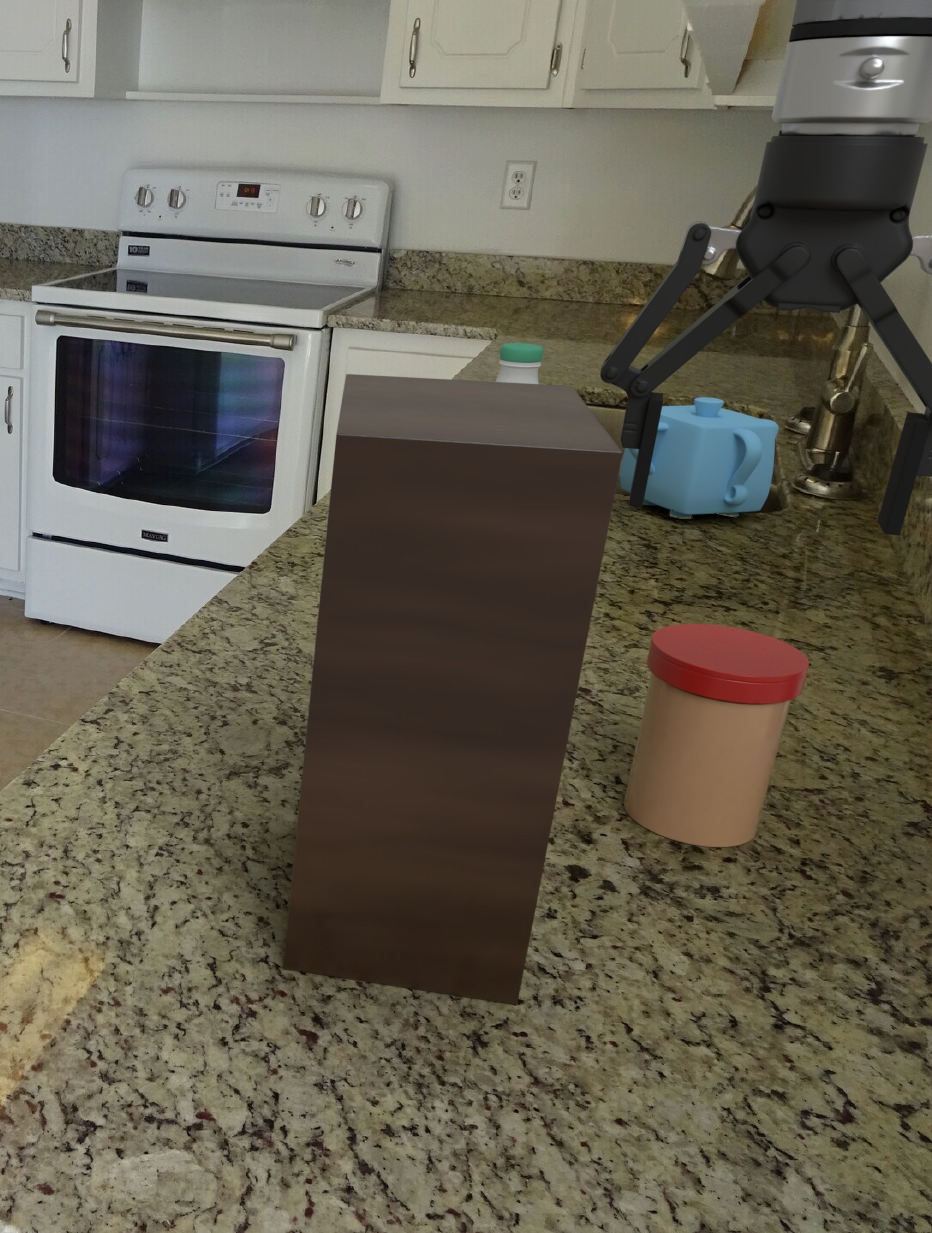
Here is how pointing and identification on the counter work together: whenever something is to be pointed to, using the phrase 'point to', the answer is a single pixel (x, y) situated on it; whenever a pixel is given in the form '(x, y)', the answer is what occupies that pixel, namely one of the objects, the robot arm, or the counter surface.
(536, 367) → the milk bottle
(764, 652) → the lid
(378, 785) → the stand
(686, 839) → the jam jar
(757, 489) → the teapot
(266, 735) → the counter surface
